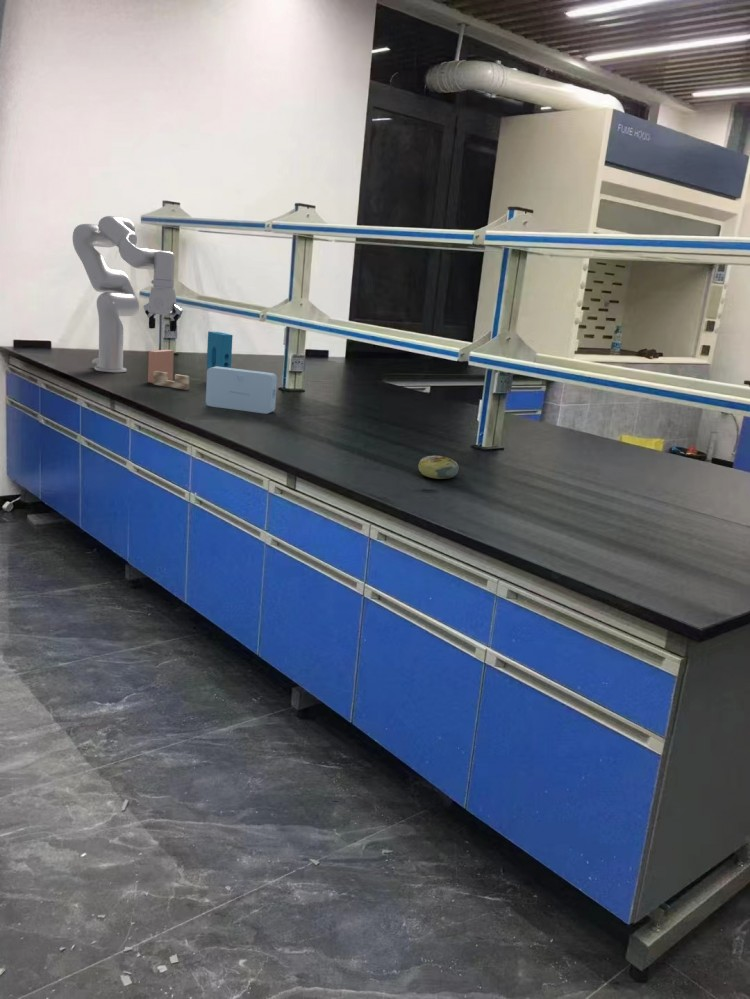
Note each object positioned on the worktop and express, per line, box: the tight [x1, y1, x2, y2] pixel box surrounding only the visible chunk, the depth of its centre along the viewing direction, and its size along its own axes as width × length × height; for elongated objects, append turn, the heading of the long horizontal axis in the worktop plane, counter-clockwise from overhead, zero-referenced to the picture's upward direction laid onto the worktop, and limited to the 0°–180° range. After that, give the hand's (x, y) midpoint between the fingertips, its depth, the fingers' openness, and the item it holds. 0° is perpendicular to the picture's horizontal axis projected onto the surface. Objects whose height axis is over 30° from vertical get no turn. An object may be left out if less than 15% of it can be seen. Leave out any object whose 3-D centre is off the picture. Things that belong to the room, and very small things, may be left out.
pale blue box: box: [205, 366, 278, 415], centre depth 290 cm, size 23×6×13 cm, turn 79°
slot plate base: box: [152, 371, 190, 391], centre depth 324 cm, size 15×2×5 cm, turn 68°
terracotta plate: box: [147, 349, 175, 384], centre depth 334 cm, size 3×12×12 cm, turn 158°
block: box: [206, 330, 233, 371], centre depth 344 cm, size 12×5×20 cm, turn 41°
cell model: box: [417, 455, 460, 480], centre depth 222 cm, size 10×8×14 cm
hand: (162, 329), depth 331 cm, fingers open, 9 cm apart
